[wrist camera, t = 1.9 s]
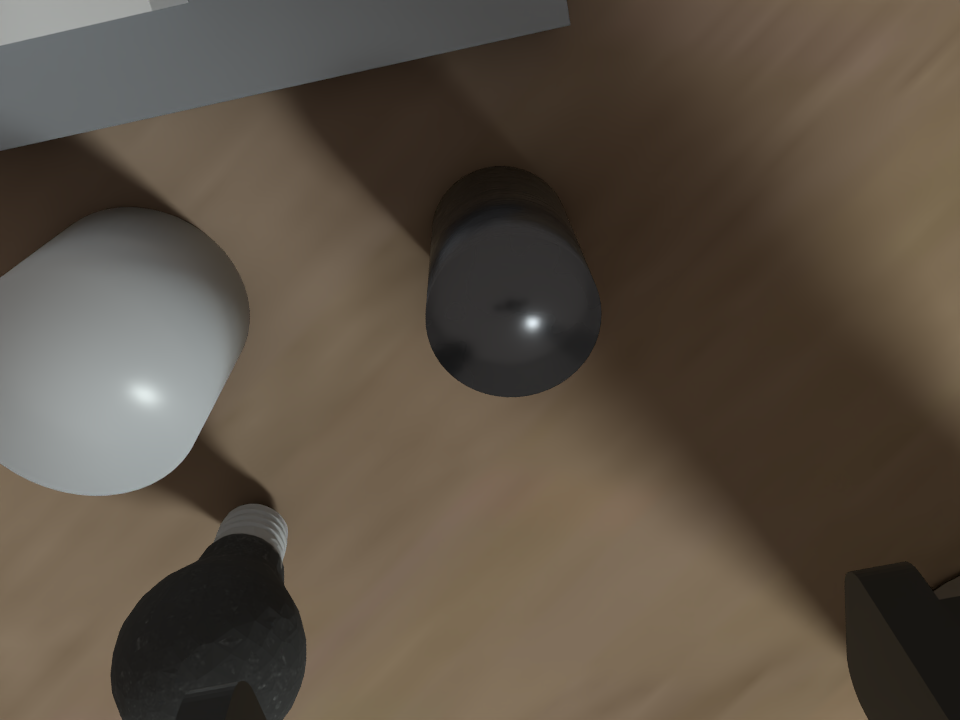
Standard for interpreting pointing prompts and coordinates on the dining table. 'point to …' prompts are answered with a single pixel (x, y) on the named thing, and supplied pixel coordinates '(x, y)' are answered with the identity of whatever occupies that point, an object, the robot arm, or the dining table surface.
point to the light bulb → (215, 626)
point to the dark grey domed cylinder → (508, 286)
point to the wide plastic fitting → (115, 350)
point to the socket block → (216, 51)
